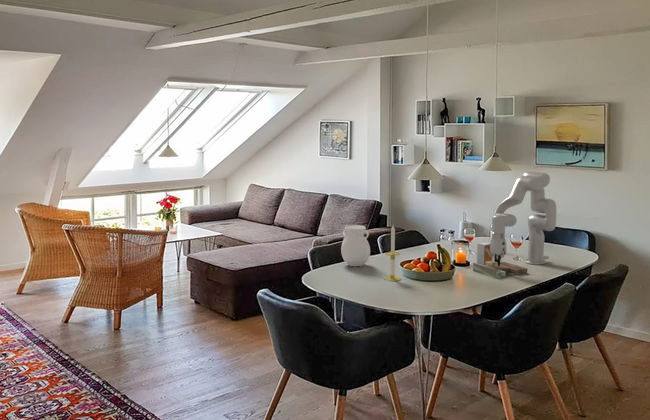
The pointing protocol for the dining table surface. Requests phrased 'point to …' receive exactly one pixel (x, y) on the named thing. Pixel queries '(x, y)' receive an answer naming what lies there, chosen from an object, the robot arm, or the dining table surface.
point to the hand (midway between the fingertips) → (497, 265)
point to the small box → (483, 253)
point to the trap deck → (500, 270)
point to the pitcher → (355, 245)
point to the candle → (392, 257)
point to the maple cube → (492, 264)
